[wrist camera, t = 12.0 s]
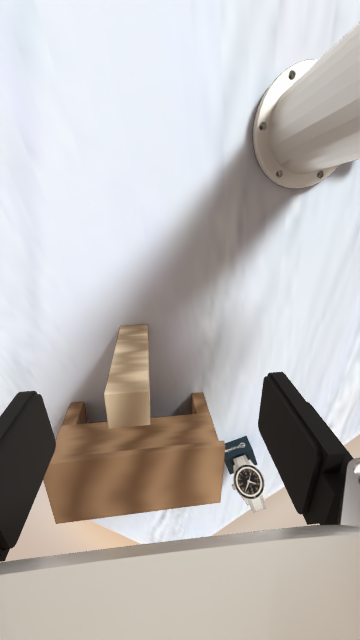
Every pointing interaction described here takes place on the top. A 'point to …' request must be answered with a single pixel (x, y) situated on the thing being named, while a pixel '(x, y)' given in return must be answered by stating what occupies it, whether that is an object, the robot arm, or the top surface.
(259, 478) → the watch
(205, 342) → the top surface
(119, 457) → the cabinet
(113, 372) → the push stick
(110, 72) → the top surface
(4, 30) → the top surface
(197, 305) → the top surface
